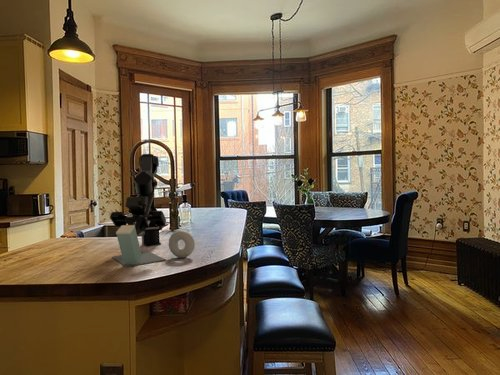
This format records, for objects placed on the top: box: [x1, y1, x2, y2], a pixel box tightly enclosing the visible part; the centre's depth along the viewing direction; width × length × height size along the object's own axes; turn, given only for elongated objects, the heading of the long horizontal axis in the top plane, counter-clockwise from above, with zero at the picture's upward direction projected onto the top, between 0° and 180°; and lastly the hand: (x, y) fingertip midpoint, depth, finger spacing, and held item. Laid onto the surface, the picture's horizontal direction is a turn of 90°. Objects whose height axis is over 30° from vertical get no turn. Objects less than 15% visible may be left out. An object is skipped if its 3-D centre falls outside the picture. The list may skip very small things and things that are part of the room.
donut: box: [168, 229, 196, 259], centre depth 133 cm, size 10×4×10 cm, turn 74°
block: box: [115, 224, 142, 264], centre depth 124 cm, size 4×4×12 cm
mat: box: [111, 250, 167, 268], centre depth 133 cm, size 14×18×1 cm
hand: (131, 238), depth 125 cm, fingers closed
